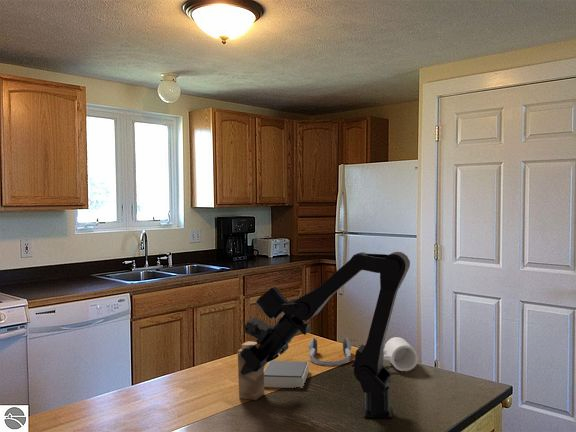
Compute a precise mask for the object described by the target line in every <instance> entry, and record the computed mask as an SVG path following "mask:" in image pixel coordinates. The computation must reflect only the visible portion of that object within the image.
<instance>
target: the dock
mask: <svg viewBox="0 0 576 432" xmlns="http://www.w3.org/2000/svg"><path fill="white" fill-rule="evenodd" d="M309 371H310V369H309V362H308V361H305V360H304V361H302V360H301V361H299V360H298V361H297V360H296V361H295V360H272V361H269V362H267V364H266V367H265V368H264V388H284V389H285V388H286V389H288V388H289V389H291V388H292V389H295V388H296V387H300V388H299V389H304V387H303V386H305V384H304V383H306V380H307V377H308V374H309ZM294 387H295V388H294ZM296 389H297V388H296Z"/></svg>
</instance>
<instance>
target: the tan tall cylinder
mask: <svg viewBox="0 0 576 432" xmlns="http://www.w3.org/2000/svg"><path fill="white" fill-rule="evenodd" d="M241 351H242V348H240V349H239V350H237V369H238V370H237V371H238V375H237V376H238V377H237V378H238V398H239V399H244V400H245V399H246V400H251V401H252V400H253V401H257V400H258V399H259V398H261V397H262V396H263V395H264V394H265V387H264V370H265V368H264V367H265V366H264V367H263V368H261V369H260V370H259V371H257V372H255V371H253V372H250V373H248V374H245V375H242V374H241V370H242V368H243V366H244V364H245V362H246V361H245V360H244V359H243V358H242V357H241V355H240V352H241Z"/></svg>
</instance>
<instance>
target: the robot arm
mask: <svg viewBox="0 0 576 432" xmlns="http://www.w3.org/2000/svg"><path fill="white" fill-rule="evenodd" d="M410 260H411V259H409V257H408V255H406V254H405V253H404V252H402V251H393V252H391V253H390V254H384V253H366V252H364V251H363V252H359V253H358V252H357V253H355V254H353V255H352V256H351V258H350V259H349V260H348V261H346V263H345V264H343V265H342V266H341V267H340V268H339V269H337V270H336V271H335V272H334V273H333V274H331V276H330V277H328V278H327V279H326V280H325V281H324V282H323V283H321V284H320V285H319V286H318V287H316V288H314V289H312V290H311V291H309V292H307V293H305V294H304V295H303V296H300V297H299V298H296V299H293V298H292V299H291V300H288V299H287V298H286V297H285V296H284V295H283V294H282V292H280V289H279V288H277V286H276V285H274V286H271V288H270V289H269V290H267V291H266V292H264V293H263V294H262V295H260V296H259V298H258V299H257V300H256V301H255V305H257V306H258V308H259V309H260V310H261V311H262V312H263V313H264V314H265V316H267V318H268V319H269V320H273V319H274V320H277V319H278V321H277V322H275V324H274V325H272V326H270V325H269V324H268V323H266V322H264V321H263V320H261V319H259V318H257V317H252V318H251V319H248V320H247V322H246V324H244V325H243V328H244V329H243V330H244V331H243V332H244V333H245V334H246V335H247V334H248V336H251V337H253V338H255V339H256V341H255V342H257V343H258V344H259V346H258V347H256V346H255V345H249V346H248V347H246V348H244V349H243V350H242V351H241V352H240V355H241V357H242V358H243V359H244V360H245V361H246V362H245V364H244V366H243V368H242V370H241V374H242V375H245V374H248V373H250V372H253V371H255V372H257V371H259V370H260V369H261V368H263V367H265V366H266V365H267V364H268V363H269V362H270V361H275V359H277V358H279V355H280V356H282V355H283V354H285V352H286V351H287V350H288V349H289V344H290V343H291V342H292V340H293V339H294V337H295V336H297V334H298V333H299V332H300V333H302V335H304V336H306V335H307V334H308V333H310V332H311V327H310V325H311V324H310V322H309V321H308V320H310V319H312V318H313V317H315V316H317V315H319V313H320V312H321V310H322V309H323V308H325V307H324V306H325V305H326V304H327V303H328V301H329V300H330V299H331V298H332V296H334V294H336V293H337V292H338V291H340V289H341V288H343V287H345V285H346V284H348V283H349V282H350V281H351V280H352V279H353V278H355V277H356V276H357V275H359V273H360V272H361V271H365V272H371V273H374V274H375V273H376V274H379V286H380V287H379V288H380V289H379V293H378V296H377V301H376V305H375V309H374V312H373V315H372V320H371V324H370V328H369V331H368V336H367V340H366V342H365V344H361V345H360V346H359V347H358V348H356V351H355V355H354V356H355V357H354V362H353V363H352V365H351V367H352V368H353V376H354V377H355V379H356V380H357V381H358V383H359V384H360V386H361V389H362V391H363V393H364V395H365V396H364V397H365V399H364V400H365V401H364V402H365V403H364V405H363V418H373V419H375V418H377V419H392V417H393V414H392V407H391V406H390V387H389V386H388V385H389V384H390V383H391V380H392V377H393V374H392V373H391V372H390V371H389V370H388V369H387V368H386V367H385V366H384V359H383V358H384V355H385V354H384V352H383V349H384V343H385V341H386V335H387V332H388V329H389V324H390V321H391V319H392V318H391V316H392V314H393V310H394V307H395V302H396V297H397V294H398V291H399V289H400V287H401V286H402V283H403V282H404V280H405V278H406V276H407V274H408V272H409V269H410V266H411V261H410ZM281 316H282V317H281ZM279 318H280V319H279Z"/></svg>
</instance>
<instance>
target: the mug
mask: <svg viewBox="0 0 576 432" xmlns="http://www.w3.org/2000/svg"><path fill="white" fill-rule="evenodd" d="M383 352H384V358H383V361H385V360H386V361H389V362H390V363H391V365H393V367H394V368H395V369H396V370H397V371H398V372H399V371H400V372H403V371H406V372H410V371H412V370H413V369H414V368H415V367H416V366H417V364H418V359H419V357H418V352H417V351H416V349H415V348H414V347H412V345H411V344H409V342H408V341H407V340H405V339H404V337H403V338H402V337H399V336H396V337H395V336H394V337H392V338H389V339H388V341H386V343H385V345H384V347H383Z"/></svg>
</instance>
